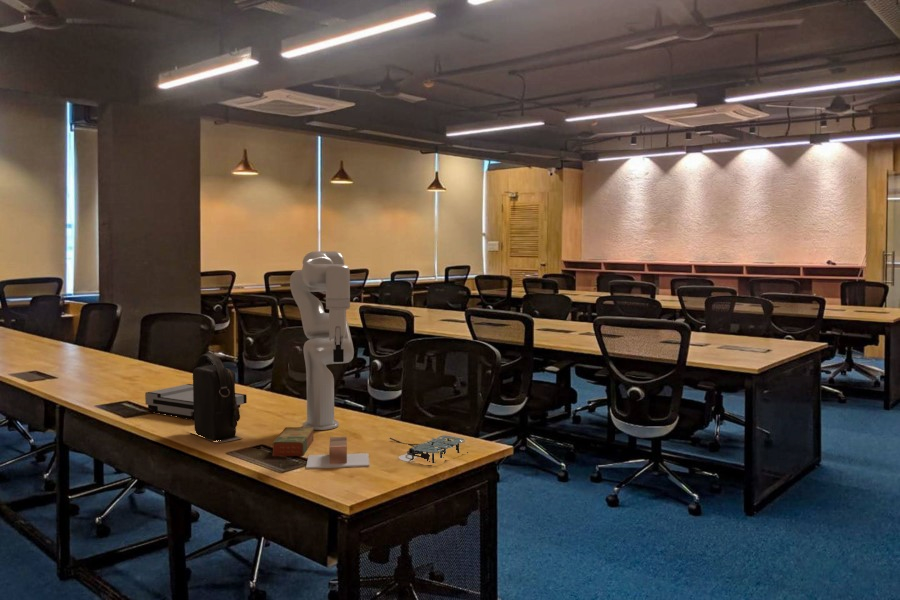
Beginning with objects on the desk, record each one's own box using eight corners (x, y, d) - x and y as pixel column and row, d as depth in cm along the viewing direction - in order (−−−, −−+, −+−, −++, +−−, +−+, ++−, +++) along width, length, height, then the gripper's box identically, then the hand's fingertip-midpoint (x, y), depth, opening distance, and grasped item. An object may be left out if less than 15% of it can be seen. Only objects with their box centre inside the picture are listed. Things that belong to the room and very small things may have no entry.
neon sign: (400, 425, 241) (474, 438, 224) (400, 438, 241) (474, 452, 224) (358, 439, 223) (434, 454, 207) (358, 452, 224) (434, 469, 207)
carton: (314, 441, 237) (314, 426, 237) (303, 457, 219) (303, 441, 218) (285, 441, 237) (285, 426, 236) (272, 457, 218) (272, 441, 218)
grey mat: (308, 456, 217) (308, 455, 217) (368, 454, 220) (368, 453, 220) (306, 468, 206) (306, 467, 206) (369, 466, 208) (369, 464, 208)
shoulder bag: (185, 432, 247) (183, 351, 245) (210, 427, 254) (208, 348, 252) (217, 444, 232) (215, 358, 230) (243, 439, 238) (241, 355, 236)
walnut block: (330, 437, 219) (329, 446, 208) (346, 436, 220) (346, 446, 209) (330, 453, 220) (329, 463, 209) (346, 452, 220) (346, 463, 209)
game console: (204, 423, 261) (204, 401, 260) (145, 413, 276) (145, 392, 276) (246, 412, 279) (246, 391, 278) (189, 403, 294) (188, 383, 294)
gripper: (326, 302, 234) (327, 358, 236) (325, 306, 220) (325, 365, 221) (350, 302, 235) (350, 357, 237) (349, 305, 221) (350, 365, 222)
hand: (338, 361), depth 229 cm, fingers closed
